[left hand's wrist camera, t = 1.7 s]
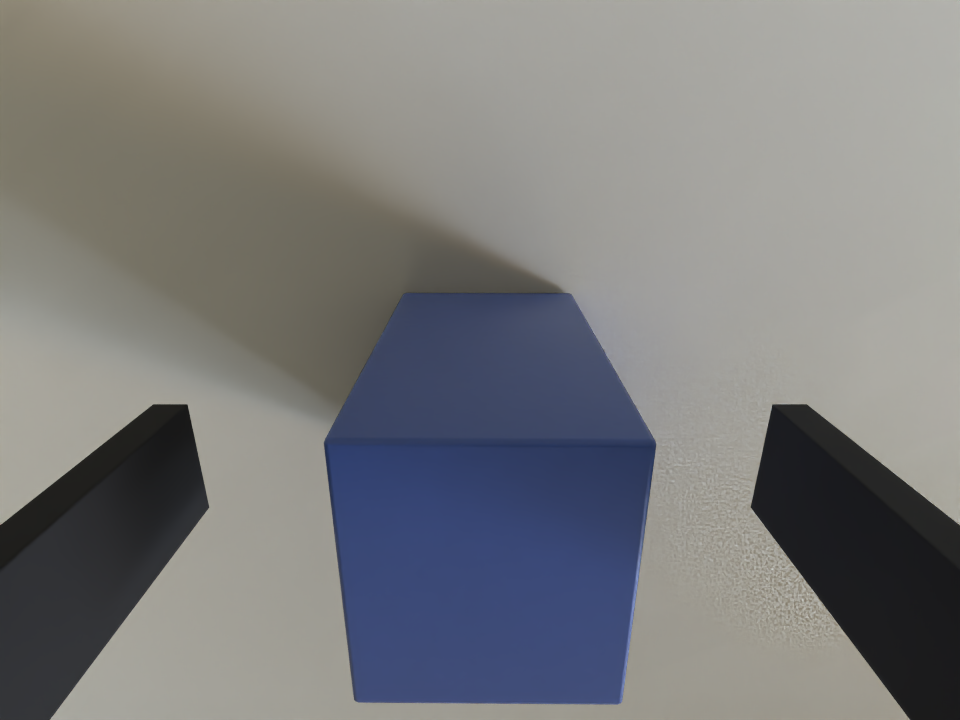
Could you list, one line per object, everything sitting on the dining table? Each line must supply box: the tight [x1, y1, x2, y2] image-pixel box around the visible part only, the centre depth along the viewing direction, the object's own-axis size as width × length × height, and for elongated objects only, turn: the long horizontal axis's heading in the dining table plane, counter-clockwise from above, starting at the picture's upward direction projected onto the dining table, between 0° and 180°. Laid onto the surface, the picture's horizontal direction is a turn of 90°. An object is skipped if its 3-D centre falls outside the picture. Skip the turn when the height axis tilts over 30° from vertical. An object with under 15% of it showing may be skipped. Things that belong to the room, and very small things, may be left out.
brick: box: [324, 293, 656, 704], centre depth 13 cm, size 5×5×8 cm
